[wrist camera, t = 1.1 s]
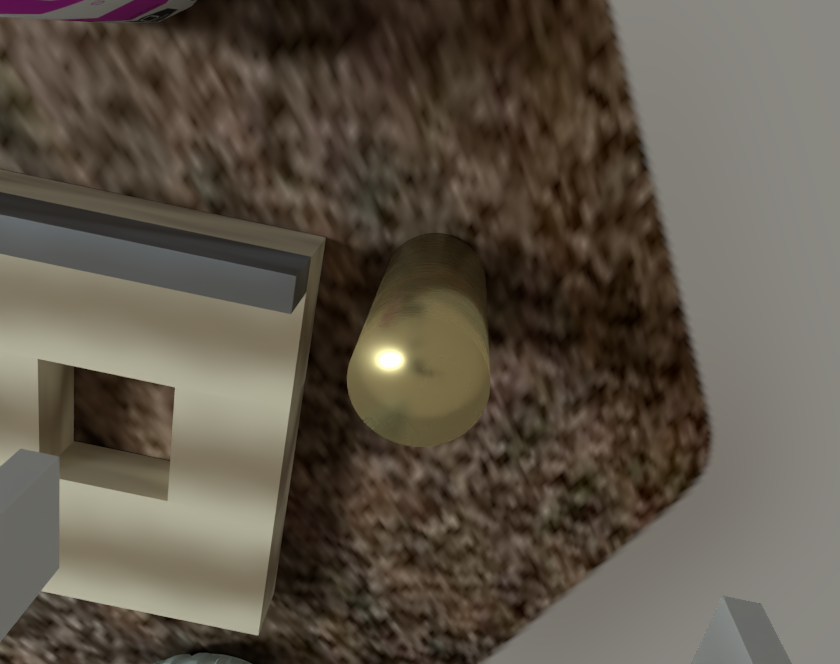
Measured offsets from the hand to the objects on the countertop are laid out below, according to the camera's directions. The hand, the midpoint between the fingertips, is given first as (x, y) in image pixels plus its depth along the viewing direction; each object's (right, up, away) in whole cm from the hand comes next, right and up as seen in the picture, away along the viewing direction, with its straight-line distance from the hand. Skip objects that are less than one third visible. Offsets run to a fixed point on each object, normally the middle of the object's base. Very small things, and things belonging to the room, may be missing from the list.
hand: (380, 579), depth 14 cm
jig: (-13, +2, +20) cm, 24 cm away
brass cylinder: (+1, +7, +17) cm, 18 cm away
